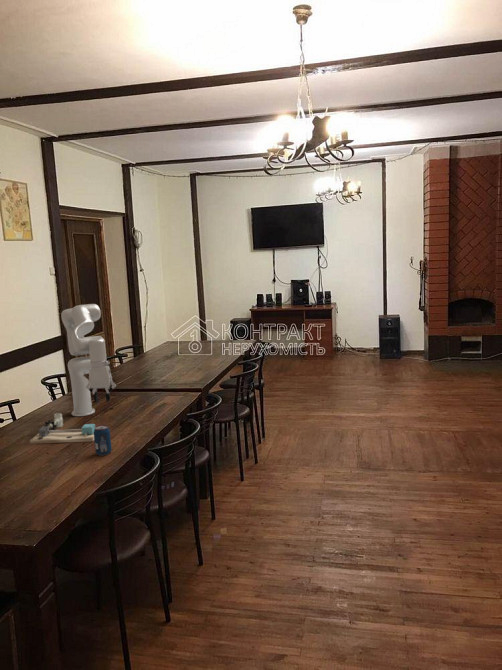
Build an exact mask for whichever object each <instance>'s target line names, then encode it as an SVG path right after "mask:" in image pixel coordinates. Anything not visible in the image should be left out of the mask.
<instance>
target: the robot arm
mask: <svg viewBox="0 0 502 670" xmlns="http://www.w3.org/2000/svg"><path fill="white" fill-rule="evenodd" d="M101 314H102V312H101V309H100V306H99V305H98V304H96V303H88V304H79V305H75V306H74V307H73V308H67V309H64V310H62V311H61V314H60V315H61V321H62V324H63V325H64V328H65V330H66V333H67V334H66V337H67V345H68V351H69V353H70V355H71V356H79V357H74V358H72V359H69V361H68V362H67V369H68V372H69V377H70V384H71V393H72V401H73V410H72V412H71V415H72V416H73V417H84V416H89V415H93V414H94V413H96V409H95V408H93V406H92V405H93V402H92V397H91V394H92V395H93V400H94V403H97V402H98V401H99V394H98V392H97V391H98V389H105V391H106V393H105V401H106V402H107V403H108V402H110V400H111V392H112V391H113V390H114V389H115V388H116V387H117V384H116V383H115V382H114V381H113V376H112V373H111V368H110V366H109V365H110V364H111V361H108V360H107V351H106V341H105V339H104V338H103V336H101V335H94V336H86V337H85V335H87V334H89V333H91V332H92V331H93V330H94V327H95V323H94V322H97V321H98V320H100V319H101V316H102V315H101ZM83 355H84V356H83ZM85 355H88V356H85ZM87 374H88V378H87V377H86V376H85V375H87Z"/></svg>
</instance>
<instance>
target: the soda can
mask: <svg viewBox="0 0 502 670" xmlns="http://www.w3.org/2000/svg"><path fill="white" fill-rule="evenodd" d="M111 440H112V439H111V429H110V428H109V425H106V424H101V425H97V426H95V430H94V440H93V442H94V450H95V453H96V454H97V456H107V455H110V454H111V452H112V441H111Z"/></svg>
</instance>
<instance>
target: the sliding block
mask: <svg viewBox="0 0 502 670" xmlns="http://www.w3.org/2000/svg"><path fill="white" fill-rule="evenodd" d="M95 427H96V424H95V423H85V424H83V426H82V427H81V429H82V435H85V436H86V435H87V434H93V433H94V430H95Z"/></svg>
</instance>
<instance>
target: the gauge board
mask: <svg viewBox="0 0 502 670" xmlns="http://www.w3.org/2000/svg"><path fill="white" fill-rule="evenodd" d="M49 429H50V428H49V426H48V425H47V427H44V426H42V427H40V428H39V429H38V433H37V434H36V435H35V436H34V437H33V438H31V439H30V440H29V444H30V445H33V444H34V445H35V444H54V443H56V444H57V443H59V444H60V443H61V444H62V443H84V442H86V443H87V442H94V433H93V434H87V435H86V436H85V435H82V428H75V429H74V428H73V429H71V428H70V429H56V430H49Z"/></svg>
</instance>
